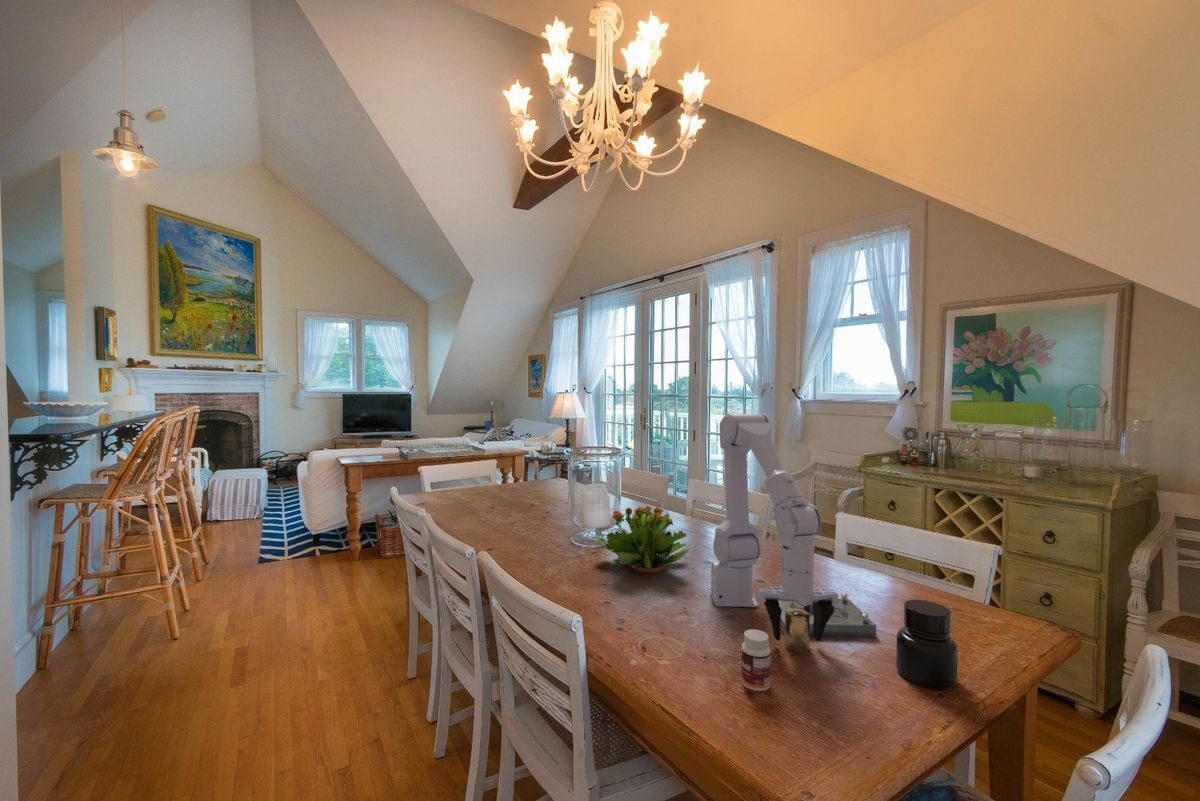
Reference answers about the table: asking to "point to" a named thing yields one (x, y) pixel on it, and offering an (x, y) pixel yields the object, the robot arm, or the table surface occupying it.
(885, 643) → the table surface
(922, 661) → the ink bottle
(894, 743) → the table surface
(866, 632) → the jig
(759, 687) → the pill bottle
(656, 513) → the potted flower
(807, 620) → the bushing
